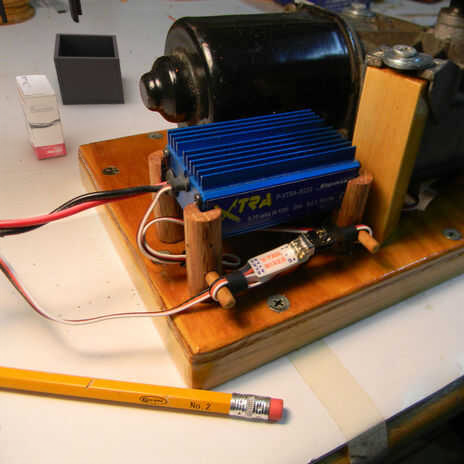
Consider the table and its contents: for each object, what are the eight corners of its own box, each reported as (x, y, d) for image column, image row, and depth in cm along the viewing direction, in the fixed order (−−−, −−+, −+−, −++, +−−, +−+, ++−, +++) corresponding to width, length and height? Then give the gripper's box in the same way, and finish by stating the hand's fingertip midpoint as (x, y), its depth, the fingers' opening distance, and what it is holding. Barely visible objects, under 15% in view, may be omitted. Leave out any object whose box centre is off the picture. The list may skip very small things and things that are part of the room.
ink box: (69, 155, 85) (56, 92, 77) (38, 160, 82) (21, 96, 75) (57, 133, 90) (44, 72, 82) (28, 137, 87) (11, 75, 80)
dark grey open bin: (62, 104, 99) (53, 57, 92) (64, 77, 108) (55, 33, 102) (124, 103, 103) (119, 58, 97) (120, 77, 113) (115, 35, 106)
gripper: (79, -114, 68) (96, 12, 78) (-69, -131, 60) (-28, 12, 70) (90, -105, 63) (106, 27, 74) (-69, -122, 55) (-25, 29, 66)
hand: (41, 20), depth 72 cm, fingers open, 9 cm apart
